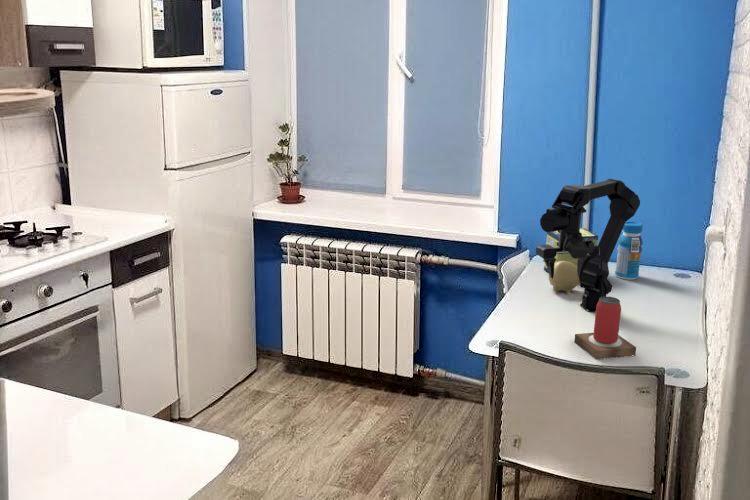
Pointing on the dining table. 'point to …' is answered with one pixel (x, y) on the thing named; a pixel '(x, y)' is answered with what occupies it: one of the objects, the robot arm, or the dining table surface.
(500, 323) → the dining table surface
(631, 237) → the beverage bottle
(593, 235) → the protein box
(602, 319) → the beer can
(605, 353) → the plinth
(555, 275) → the toy pig
